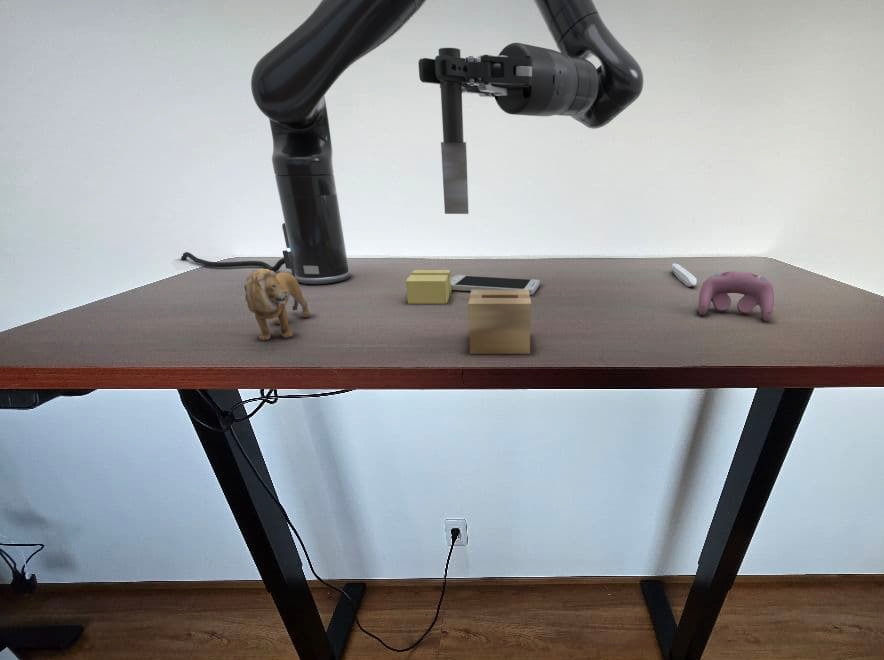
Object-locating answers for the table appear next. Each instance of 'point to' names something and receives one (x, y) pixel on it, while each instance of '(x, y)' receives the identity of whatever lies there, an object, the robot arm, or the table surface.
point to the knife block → (499, 321)
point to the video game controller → (744, 283)
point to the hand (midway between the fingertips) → (429, 68)
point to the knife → (453, 145)
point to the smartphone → (493, 283)
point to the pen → (684, 275)
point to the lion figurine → (273, 299)
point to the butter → (428, 287)
